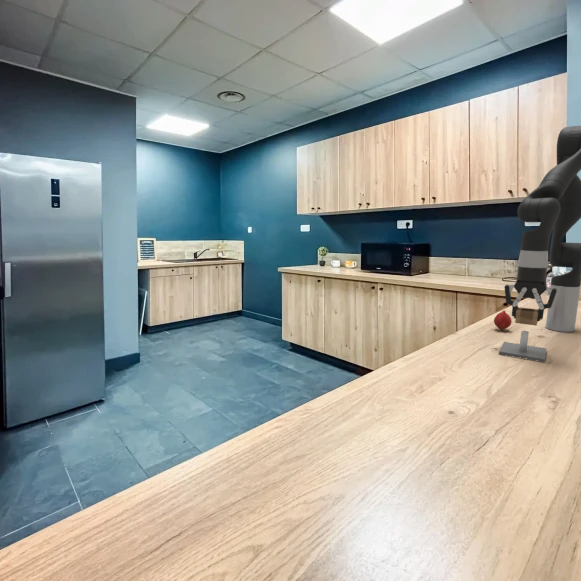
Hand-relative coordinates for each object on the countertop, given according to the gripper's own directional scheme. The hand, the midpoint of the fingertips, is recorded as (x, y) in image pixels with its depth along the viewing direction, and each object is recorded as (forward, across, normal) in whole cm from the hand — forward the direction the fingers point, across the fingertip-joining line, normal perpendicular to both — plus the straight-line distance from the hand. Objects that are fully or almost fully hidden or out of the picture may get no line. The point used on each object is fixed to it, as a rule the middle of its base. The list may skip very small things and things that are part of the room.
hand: (526, 319), depth 118 cm
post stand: (+11, 0, 0) cm, 11 cm away
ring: (+1, 0, 0) cm, 1 cm away
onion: (+11, +9, -25) cm, 29 cm away
